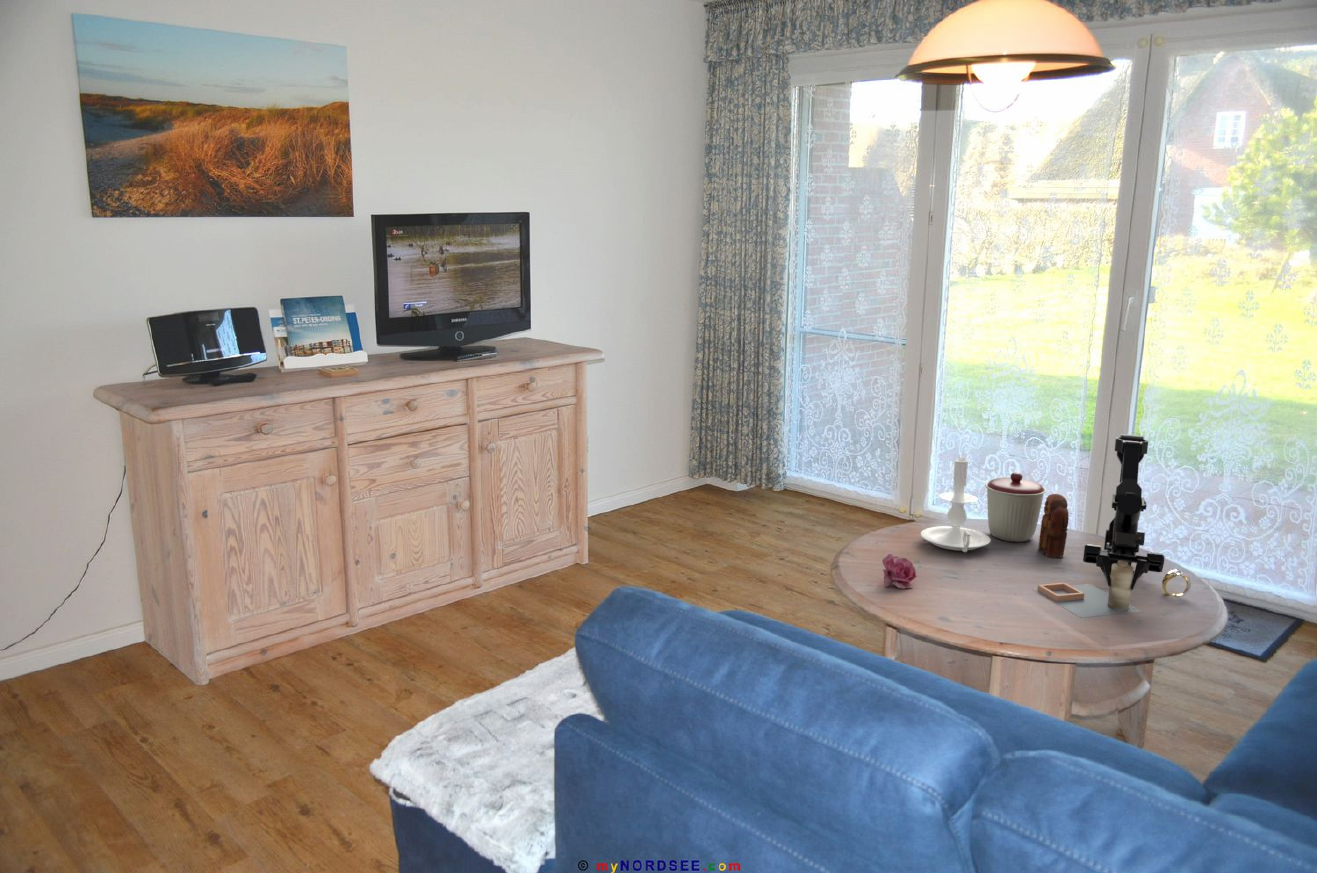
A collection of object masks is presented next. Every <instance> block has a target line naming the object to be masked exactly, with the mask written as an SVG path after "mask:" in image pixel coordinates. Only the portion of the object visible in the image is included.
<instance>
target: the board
mask: <svg viewBox="0 0 1317 873" xmlns="http://www.w3.org/2000/svg"><path fill="white" fill-rule="evenodd" d="M1032 591H1034V592H1036V593H1038V594H1040V595H1041V596H1043V597H1044V598H1046V599H1048V600H1050V601H1052V602H1053V603H1055V604H1057V605H1058V606H1059V607H1062V608H1063V609H1065V610H1067V611H1069V612H1070V613H1072V614H1073V615H1075V616H1078V617H1079V618H1080V619H1083V618H1096V617H1103V616H1111V615H1112V616H1113V615H1114V616H1115V615H1123V614H1124V615H1125V614H1133V613H1142V612H1143V611H1142V610H1141V609H1138V608H1137V607H1135V606H1133V605H1132V604H1129V609H1128V610H1126V611H1119V610H1114V609H1111V608H1109V607H1108V606H1107V605H1108V596H1109V592H1106V591H1104V590H1103V589H1101V588H1099V587H1096V586H1095V585H1093V584H1091V583H1085V584H1076V585H1075V584H1074V585H1070V584H1068V583H1066V582H1058V583H1057V582H1056V583H1047V584H1046V583H1045V584H1038V585H1037V588H1033V589H1032Z"/></svg>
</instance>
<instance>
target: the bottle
mask: <svg viewBox="0 0 1317 873" xmlns="http://www.w3.org/2000/svg"><path fill="white" fill-rule="evenodd" d="M1133 570H1134V566H1133V565H1132V564H1131V565H1128V562H1127V561H1124V560H1119V561H1118V563H1114V564H1112V569H1111V572H1110V579H1111V580H1110V587H1109V586H1108V587H1109V588H1108V594H1109V596H1108V605H1107V606H1108V607H1109V608H1111V609H1114V610H1119V611H1126V610H1128V609H1129V605H1130V601H1131V592H1132V590H1131V585H1132V580H1133V576H1134V573H1133Z"/></svg>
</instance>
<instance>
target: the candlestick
mask: <svg viewBox="0 0 1317 873" xmlns="http://www.w3.org/2000/svg"><path fill="white" fill-rule="evenodd" d="M968 461H969V459H968V458H965V457H960V458H958V459H954V469H953V470H954V471H953V478H952V479H953V486H952V491H953V492H951V491H949V492H943V493H939V495H938V498H940V499H942V500H944V501H946V502H949V503H951V507H950V508H949V509H948V511H947V514H946V516H947V521H948V522H949V524H950V525H952V526H950V525H948V526H947V525H945V526H943V525H941V526H932V527H928V528H924V529H923V530H921V531H920V536H921V538H923V539H924V540H926V541H928V542H929V543H930V544H932V545H934V546H936V547H938V548H942V549H946V550H950V551H959V552H960V551H962V552H963V553H967V552H968V551H973V550H976V549H979V548H981V547H984V546H987V545H989V544H990V543H991V541H992V540H991V538H990V536H988V535H987V534H985V533H984V532H981V531H978V530H976V529H975V530H974V529H972V528H968V527H967V528H966V527H962V525H964V523H965V522H966V520H967V518H968V516H967V512H966V509H965V506H964V505H965V504H968V503H975V502H977V501H979V498H978V497H977V496H975V495H973V494H969V493H965V487H966V486H967V475H968Z"/></svg>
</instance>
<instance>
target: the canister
mask: <svg viewBox="0 0 1317 873" xmlns="http://www.w3.org/2000/svg"><path fill="white" fill-rule="evenodd" d="M984 486H985V488H986V491H987V493H986V494H987V495H986V498H987V500H986V501H987V521H988V522H987V523H988V524H987V525H988V530H989V532H990V534H991V536H993V537H994V538H996V539H999V540H1002V541H1007V542H1012V543H1013V542H1014V543H1017V542H1018V543H1020V542H1027V541H1030V540H1031V539H1033V536H1034V535H1035V533H1036V530H1037V526H1038V522H1039V517H1040V512H1041V508H1042V504H1043V499H1044V496H1045V494H1046V492H1047V488H1045V487H1044V486H1042V484H1040V483H1039V482H1037V481H1034V480H1031V479H1027V478H1023V475H1022V473H1021V472H1017V471H1016V472H1012V473H1011V474H1010V477H997V478H993V479H991V480H990V481H987V482H985V483H984Z"/></svg>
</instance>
